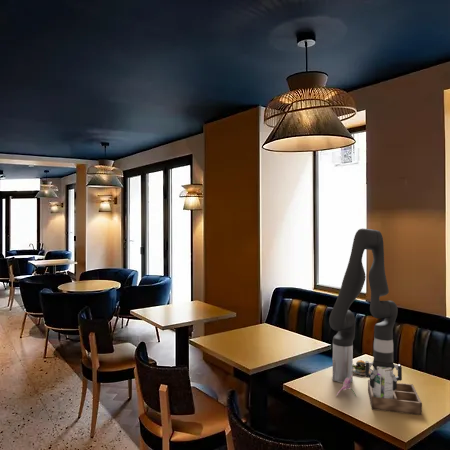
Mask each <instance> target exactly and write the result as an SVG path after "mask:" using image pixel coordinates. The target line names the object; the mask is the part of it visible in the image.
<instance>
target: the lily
mask: <svg viewBox="0 0 450 450" xmlns="http://www.w3.org/2000/svg"><path fill="white" fill-rule="evenodd" d="M352 375H355V373H353V374H352ZM352 375H351V377H352ZM351 377H350V378H348V377H347V378H346V379H345V380H344V382H343V383H342V387H341V388H340V389H339V390H338V391H337V393H336V395H335V397H338V395H339V393H340V392H342V391H345V390H349V389H350V390H351V391H352V392H353V394H354V396H355V397H357V395H356V393H355V391H354V390H353V389H352V387H351V382H350V379H351Z"/></svg>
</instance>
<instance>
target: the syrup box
mask: <svg viewBox="0 0 450 450" xmlns="http://www.w3.org/2000/svg"><path fill="white" fill-rule="evenodd" d="M377 368H379V369H378V374H377V375H376V376H375V377H374V378H373V379H374V388H373V395H374V397H379V398H388V399H393V379H392V377H391V376H390V371H391V372H392V373H393V374H394V369H393V370H392V368H391V367H388V368H386V367H383V366H382V367H379V366H377ZM389 369H390V370H389ZM372 370H373V371H374V372H375V371H376V370H375V368H374V367H373V366H372Z"/></svg>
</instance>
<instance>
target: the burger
mask: <svg viewBox="0 0 450 450" xmlns="http://www.w3.org/2000/svg"><path fill="white" fill-rule="evenodd" d="M365 363H366V361H364V360H362V359H360V360H357V361H356V364H354V363H353V373H354V375H361V376H366V375H365ZM372 371H373V368H371V367H370V368H369V374H371V373H372Z"/></svg>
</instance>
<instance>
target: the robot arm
mask: <svg viewBox="0 0 450 450" xmlns="http://www.w3.org/2000/svg"><path fill="white" fill-rule="evenodd" d="M384 246H385V245H384V236H383V234H382V233H381V231H380V230H378V229H373V228H372V229H371V228H359V229H357V230H356V232H355V235H354V237H353V242H352V246H351V251H350V256H349V258H348V259H349V260H348V264H347V267H346V270H345V272H344V275H343V279H342V282H341V286H340V288H339V292H338V295H337V298H336V301H335V303H334V305H333V308H332V310H331V312H330V314H329V319H328V320H329V321H328V323H329V327H330V328H331V329H332V330H334V331H335V332H336V334H334V336H333V338H332V381H335V382H337V383H341V384H343V382H344V380H345V379H346V378H347V377H348V378H350V377H351V375H352V374H353V364H354V362H353V361H354V360H353V357H354V356H353V355H354V354H353V353H354V352H353V349H354V344H353V342H354V340H355V337H356V336H355V335H356V334H355V333H356V318H355V315H354V313H353V312H352V311H351V310H350V307H351V305H352V304H353V303H354V301H355V300H356V299H357V298H358V297H359V295H360V294H361V292H362V291H363V288H364V285H365V282H366V272H365V267H364V265H363V255H364V252H365V250H366V251H367V250H369V251H371V253H372V258H373V259H372V263H371V265H370V266H371V267H370V269H369V271H368V283H369V288H370V306H369V312H370V314H371V316H372V317H373V318H375V319H383V320H382V321H381V322H377V323H375V325H374V335H373V336H374V340H373V346H372V347H373V361H372V362H370V361H368V360H366V361H365V375H364V376H365V377H366V378H369V380H370V386H372V388H374V379H373V378H374V377H375V376H376V375H377V374H378V369H379V368H377V366H379V367H382V366H383V367H386V368H388V367H391V368H392V370H393V371H394V369H395V370H396V371H397V375H396V376H395V373H394V372H393V373H392V372H391V371H390V376H391V377H392V379H393V390H395V389H396V388H397V383H398V382H399V381H400V382H401V381H402V380H403V378H402V377H403V375H402V374H403V372H402V371H403V370H402V365H401V363H398V364H395V363H394V339H393V338H394V335H393V334H394V331H393V330H394V327H395V323H396V319H397V317H398V310H399V309H398V306H397V304H396V302H394V300H380V298H381V297H384V296H387V295H388V294H389V293H390V292H389V291H390V290H389V285H388V282H387V276H386V271H385V269H386V267H385V248H384ZM373 367H374V368H375V370H376V371H375V372H374V371H372V373H371V374H369V368H370V369H371V368H373ZM389 370H390V369H389ZM353 375H354V374H353ZM353 375H352V377H351V379H350V383H352V382H353Z"/></svg>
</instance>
